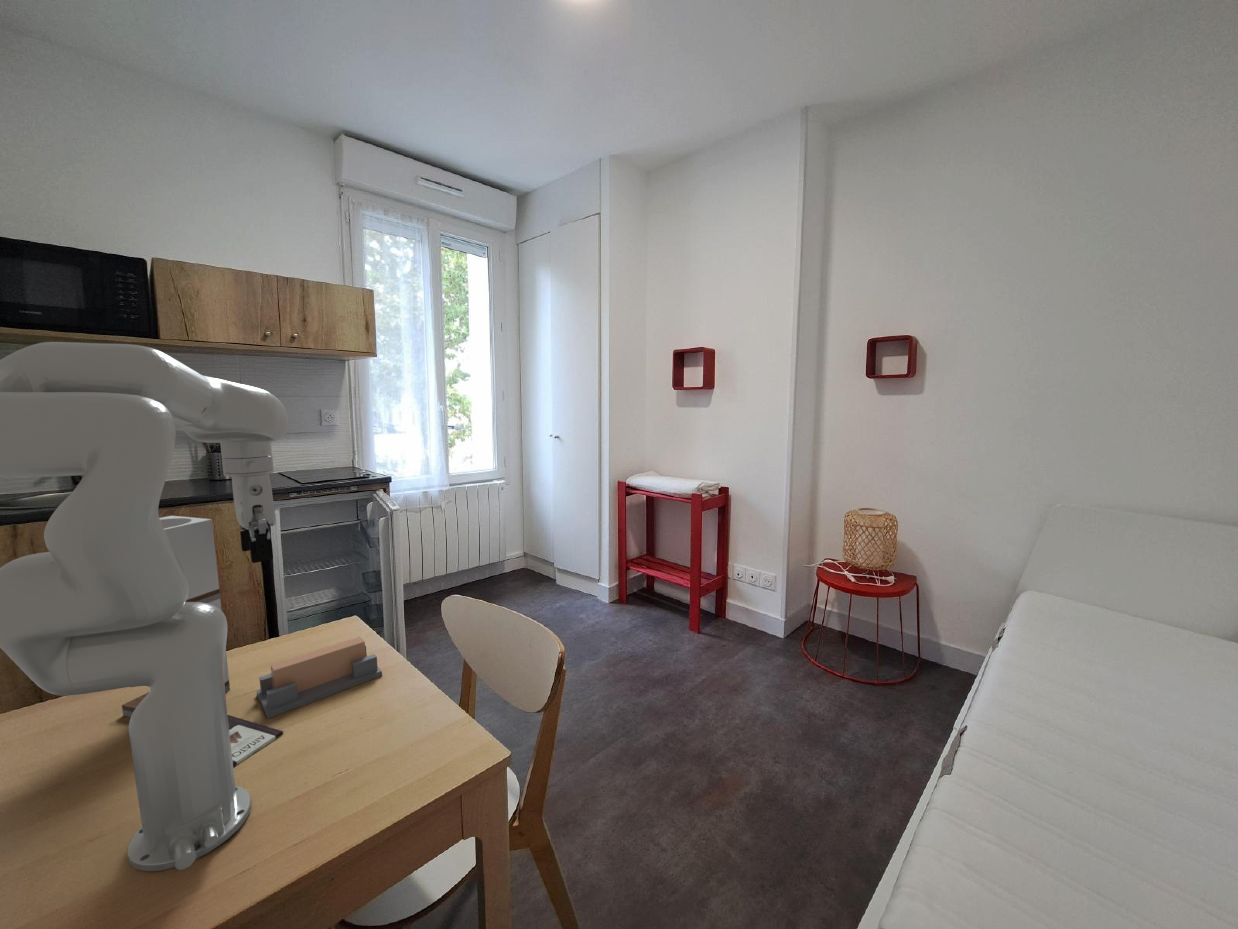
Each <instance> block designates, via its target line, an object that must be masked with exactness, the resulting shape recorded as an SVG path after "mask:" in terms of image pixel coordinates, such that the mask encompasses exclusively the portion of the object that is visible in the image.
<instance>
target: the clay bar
mask: <svg viewBox="0 0 1238 929" xmlns="http://www.w3.org/2000/svg"><path fill="white" fill-rule="evenodd" d="M365 645H366V642H365V640H364V639H363V638H362V637H361V636H358V637H355V638H351V639H347V640H345V641H342V642H338V643H336V644H332V645H330V646H326V647H325V646H324V647H323V648H320V649H315V650H313V651H310V652H309V651H308V652H306V653H303V654H300V655H297V656H293V657H291V658H287V659H284V660H281V661H278V662H275V663H271V664H270V671H271V673H270V674H272V685H273V689H274V688H277V687H280V686H283V685H286V684H289V683H292V682H295V683H296V684H297V693H298V692H301V691H304V690H307V689H309V688H312V687H315V686H318V685H321V684H323V683H326V682H329V681H332V680H335V679H338V678H340V677H343V676H346V675H349V674H352V666H351V662H353V661H356V660H359V659H362V658H364V657H366V654H367V653H366V654H365Z"/></svg>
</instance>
